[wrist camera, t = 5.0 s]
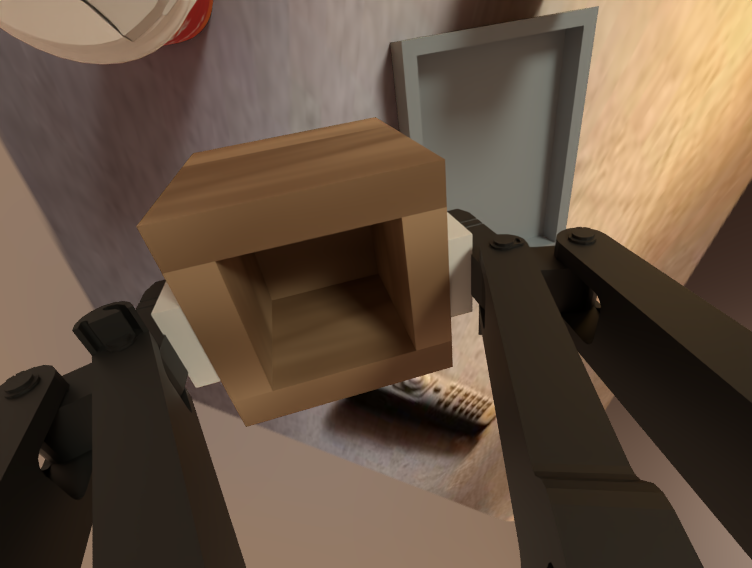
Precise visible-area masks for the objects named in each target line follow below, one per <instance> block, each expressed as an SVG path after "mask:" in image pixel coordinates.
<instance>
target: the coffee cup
mask: <svg viewBox="0 0 752 568" xmlns="http://www.w3.org/2000/svg"><path fill="white" fill-rule="evenodd" d="M212 6H213V0H0V28H1V29H3V30H4V31H6V32H7V33H9V34H10V35H12V36H14V37H15V38H17V39H19V40H21V41H23V42H25V43H27V44H29V45H31V46H33V47H35V48H37V49H39V50H42V51H44V52H47V53H50V54H52V55H55V56H57V57H61V58H65V59H69V60H73V61H77V62H82V63H92V64H117V63H124V62H128V61H132V60H136V59H140V58H142V57H144V56H146V55H148V54H150V53H153V52H155V51H156V50H157V49H159V48H160V47H161V46H164V45H170V44H175V43H180V42H183V41H186V40H189V39H191V38H193V37H194V36H196V35H197V34H198V33H200V32H201V31H202V30H203V28H204V27H205V25H206V24H207V22H208V20H209V18H210V15H211V11H212Z"/></svg>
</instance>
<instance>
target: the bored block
mask: <svg viewBox="0 0 752 568" xmlns="http://www.w3.org/2000/svg"><path fill="white" fill-rule="evenodd" d="M136 227H137V229H138V230H139V232H140V234H141V236H142V238H143V240H144V241H145V243H146V245H147V247H148V249H149V251H150V252H151V254H152V256H153V258H154V260H155V261H156V263H157V265H158V267H159V269H160V271H161V272H162V274H163V276H164V278H165V280H166V282H167V283H168V285H169V287H170V289H171V291H172V293H173V294H174V296H175V298H176V300H177V302H178V304H179V305H180V307H181V309H182V311H183V313H184V314H185V316H186V318H187V320H188V322H189V324H190V325H191V327H192V329H193V331H194V333H195V335H196V336H197V338H198V340H199V342H200V344H201V346H202V347H203V349H204V351H205V353H206V355H207V356H208V358H209V360H210V362H211V364H212V366H213V367H214V369H215V371H216V373H217V375H218V377H219V378H220V380H221V382H222V384H223V386H224V388H225V389H226V391H227V393H228V395H229V397H230V398H231V400H232V402H233V404H234V406H235V408H236V409H237V411H238V413H239V415H240V417H241V419H242V420H243V422H244V424H245V426H246V427H247V426H251V425H254V424H258V423H261V422H264V421H268V420H271V419H275V418H278V417H282V416H285V415H288V414H292V413H295V412H299V411H302V410H306V409H309V408H313V407H316V406H319V405H323V404H326V403H330V402H333V401H337V400H340V399H343V398H347V397H350V396H354V395H357V394H361V393H364V392H367V391H371V390H374V389H378V388H381V387H385V386H388V385H391V384H395V383H398V382H402V381H405V380H409V379H412V378H416V377H419V376H422V375H426V374H429V373H433V372H436V371H440V370H443V369H446V368H450V367H453V363H452V335H451V308H450V280H449V252H448V224H447V197H446V169H445V159H444V158H442V157H440V156H439V155H437V154H435V153H434V152H432V151H430V150H429V149H427V148H425V147H424V146H422V145H420V144H419V143H417V142H416V141H414V140H412V139H411V138H409V137H407V136H406V135H404V134H402V133H401V132H399V131H397V130H396V129H394V128H392V127H391V126H389V125H387V124H386V123H384V122H382V121H381V120H379V119H377V118H376V117H375V118H369V119H364V120H359V121H354V122H349V123H344V124H339V125H334V126H329V127H324V128H319V129H314V130H309V131H304V132H299V133H294V134H289V135H283V136H278V137H273V138H268V139H263V140H258V141H253V142H248V143H243V144H238V145H233V146H228V147H223V148H218V149H213V150H208V151H203V152H197V153H193V154H192V155H191V157H190V158H189V159H188V160H187V162H186V163H185V164H184V166H183V167H182V168H181V170H180V171H179V172H178V173H177V175H176V176H175V177H174V179H173V180H172V181H171V182H170V184H169V185H168V186H167V188H166V189H165V190H164V191H163V193H162V194H161V195H160V197H159V198H158V199H157V201H156V202H155V203H154V204H153V206H152V207H151V208H150V210H149V211H148V212H147V213H146V215H145V216H144V217H143V219H142V220H141V221H140V222H139V224H138V225H137V226H136Z"/></svg>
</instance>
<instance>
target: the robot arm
mask: <svg viewBox="0 0 752 568" xmlns="http://www.w3.org/2000/svg"><path fill="white" fill-rule="evenodd" d="M447 224H448V252H449V280H450V308H451V317H454V316H457V315H461V314H465V313H468V312H472V296H473V297H474V299H475V300H476V301H477V302H478V303H479V335H482V337H483V342H484V348H485V354H486V360H487V365H488V371H489V377H490V383H491V388H492V394H493V400H494V405H495V411H496V417H497V423H498V428H499V434H500V440H501V446H502V451H503V457H504V463H505V468H506V474H507V480H508V486H509V491H510V497H511V503H512V509H513V514H514V520H515V526H516V531H517V537H518V543H519V550H520V558H521V568H704V567H703V565H702V563H701V561H700V559H699V558H698V555H697V553H696V552H695V550H694V548H693V546H692V544H691V542H690V540H689V538H688V536H687V534H686V532H685V530H684V528H683V526H682V524H681V522H680V520H679V518H678V516H677V514H676V512H675V510H674V509H673V507H672V506H671V504H670V502H669V501H668V499H667V498H666V496H665V494H664V493H663V492H662V491H661V490H660V489H659V488H658V487H657V486H656V485H655V484H654V483H651V482H647V481H643V480H640V479H639V478H638V477H637V476H636V475H635V474H634V472H633V470H632V468H631V466H630V464H629V462H628V460H627V458H626V455H625V453H624V451H623V449H622V447H621V445H620V442H619V440H618V438H617V436H616V434H615V432H614V429H613V427H612V425H611V423H610V421H609V418H608V416H607V414H606V412H605V410H604V408H603V405H602V403H601V401H600V399H599V397H598V395H597V392H596V390H595V388H594V386H593V384H592V382H591V379H590V377H589V375H588V373H587V371H586V368H585V366H584V364H583V362H582V360H581V358H580V355H581V356H582V357H583V358H584V359H585V361H586V362H587V363H588V364H589V365H590V367H591V368H592V369H593V370H594V371H595V373H596V374H597V375H598V376H599V377H600V379H601V380H602V381H603V382H604V383H605V385H606V386H607V387H608V388H609V389H610V391H611V392H612V393H613V394H614V395H615V397H616V398H617V399H618V400H619V401H620V403H621V404H622V405H623V406H624V407H625V408H626V410H627V411H628V412H629V413H630V415H631V416H632V417H633V418H634V419H635V420H636V422H637V423H638V424H639V425H640V426H641V427H642V429H643V430H644V431H645V432H646V434H647V435H648V436H649V437H650V438H651V439H652V441H653V442H654V443H655V444H656V446H657V447H658V448H659V449H660V450H661V452H662V453H663V454H664V455H665V456H666V458H667V459H668V460H669V461H670V462H671V464H672V465H673V466H674V467H675V468H676V470H677V471H678V472H679V473H680V474H681V476H682V477H683V478H684V479H685V480H686V482H687V483H688V484H689V485H690V486H691V488H692V489H693V490H694V491H695V492H696V494H697V495H698V496H699V497H700V498H701V500H702V501H703V502H704V503H705V504H706V505H707V507H708V508H709V509H710V510H711V512H712V513H713V514H714V515H715V516H716V518H718V520H719V521H720V522H721V523H722V525H723V526H724V527H725V528H726V529H727V531H728V532H729V533H730V534H731V535H732V537H733V538H734V539H735V540H736V541H737V543H738V544H739V545H740V546H741V547H742V549H743V550H744V551H745V552H746V553H747V555H748V556H749V557H750V558H751V559H752V332H751V331H750V330H748V329H747V328H745V327H744V326H742V325H741V324H739V323H738V322H736V321H735V320H733V319H732V318H730V317H729V316H727V315H726V314H724V313H723V312H721V311H720V310H718V309H717V308H715V307H714V306H712V305H711V304H709V303H708V302H706V301H705V300H703V299H702V298H700V297H699V296H697V295H696V294H694V293H693V292H691V291H690V290H688V289H687V288H685V287H684V286H682V285H681V284H679V283H678V282H676V281H675V280H673V279H672V278H670V277H669V276H667V275H666V274H664V273H663V272H661V271H660V270H658V269H657V268H655V267H654V266H652V265H651V264H649V263H648V262H646V261H645V260H643V259H642V258H640V257H639V256H637V255H636V254H634V253H633V252H631V251H630V250H628V249H627V248H625V247H624V246H622V245H621V244H619V243H618V242H616V241H615V240H613V239H612V238H610V237H609V236H607V235H606V234H604V233H602V232H600V231H598V230H594V229H590V228H586V227H583V228H582V227H576V228H569V229H566V230H562V231H561V232H559V233H558V234H557V237H556V243H555V246H541V247H529V245H528V243H527V242H526V241H525V239H523V238H521V237H519V236H516V235H510V234H496V233H495V232H493V231H492V230H491V229H490V228H488V227H487V226H486V225H485V224H482V222H481V221H480V220H478V219H476V217H474V216H473V215H472V214H471V213H469V212H467V211H464V210H461V209H454V210H450V211H447ZM597 296H598V298H599V300H600V303H599V302H598V301H596V298H597ZM72 331H73V332H74V334H75V335H76V336H77V337H78V339H79V340H80V341H81V342H82V344H83V345H84V346H85V347H86V349H87V350H88V351H89V352H90V354H91V355H92V363H90V364H88V365H86V366H83V367H81V368H79V369H77V370H74V371H72V372H70V373H68V374H65V375H63V376H61V375H60V374H59V373H58V372H57V370H56V369H55V368H54V367H53V366H49V365H42V366H38V367H33V368H31V369H28V370H26V371H22V372H20V373H18V374H16V376H12V377H11V378H9V379H7V380H6V382H5V383H4V384H2V385H1V386H0V568H81V564H82V561H83V557H84V553H85V549H86V546H87V542H88V538H89V534H90V531H91V527H92V523H93V568H246V566H245V563H244V559H243V556H242V553H241V550H240V547H239V544H238V541H237V538H236V534H235V531H234V528H233V525H232V522H231V519H230V516H229V513H228V510H227V506H226V503H225V501H224V497H223V494H222V491H221V488H220V485H219V482H218V478H217V475H216V472H215V469H214V466H213V463H212V460H211V457H210V454H209V451H208V448H207V444H206V441H205V438H204V435H203V432H202V429H201V426H200V423H199V419H198V417H197V413H196V410H195V407H194V404H193V401H192V398H191V396H190V394H189V393H188V391H187V390H186V388H185V383H186V379H187V376H189V377H190V379H191V381H192V382H193V384H194V385H195V387H196V388H198V387H202V386H205V385H209V384H212V383H216V382H220V381H221V380H220V378H219V377H218V375H217V373H216V371H215V369H214V367H213V366H212V364H211V362H210V360H209V358H208V356H207V355H206V353H205V351H204V349H203V347H202V346H201V344H200V342H199V340H198V338H197V336H196V335H195V333H194V331H193V329H192V327H191V325H190V324H189V322H188V320H187V318H186V316H185V314H184V313H183V311H182V309H181V307H180V305H179V304H178V302H177V300H176V298H175V296H174V294H173V293H172V291H171V289H170V287H169V285H168V283H167V282H166V280H162V281H158V282H155V283H154V284H153V285H152V286H151V287H150V288H149V289H147V290H146V291H145V293H144V295H143V296H142V298H141V300H140V303H139V304H138V306H137V308H136V310H135V308H134V306H133V305H132V304H131V303H130V302H125V301H121V302H114V303H110V304H107V305H104V306H102V307H99V308H97V309H95V310H93V311H91V312H90V313H88V314H87V315H85V316H84V317H82V318H81V319H80V320H79V321H78V322H77V323H76V324H75V325H74V327H73V330H72ZM578 352H579V353H580V355H579V353H578ZM39 454H40V455H42V456H43V457H44V458H45V461H44V464H43V466H42V468H41V469H40V467H39V462H38V456H39Z"/></svg>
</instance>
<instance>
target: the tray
mask: <svg viewBox="0 0 752 568" xmlns="http://www.w3.org/2000/svg"><path fill="white" fill-rule="evenodd" d="M598 8H599V6H598V7H591V8H585V9H579V10H573V11H567V12H562V13H556V14H550V15H545V16H539V17H533V18H528V19H522V20H516V21H511V22H505V23H499V24H493V25H488V26H482V27H476V28H471V29H465V30H459V31H454V32H448V33H442V34H437V35H431V36H425V37H420V38H414V39H408V40H403V41H397V42H391V43H390V47H391V56H392V66H393V75H394V85H395V94H396V104H397V113H398V123H399V132H401V133H402V134H404V135H406V136H407V137H409V138H411V139H412V140H414V141H416V142H417V143H419V144H420V145H422V146H424V147H425V148H427V149H429V150H430V151H432V152H434V153H435V154H437V155H439V156H440V157H442V158H444V159H445V169H446V197H447V211H450V210H454V209H461V210H464V211H467V212H469V213H471V214H472V215H473V216H474V217H476V219H478V220H480V221H481V222H482V224H485V225H486V226H487V227H488V228H490V229H491V230H492V231H493V232H495V233H496V234H510V235H516V236H519V237H521V238H523V239H525V241H526V242H527V243H528V245H529V247H541V246H555V243H556V237H557V234H558V233H559V232H561V231H562V230H566V225H567V218H568V211H569V205H570V198H571V191H572V184H573V177H574V171H575V164H576V157H577V150H578V144H579V137H580V130H581V123H582V116H583V110H584V103H585V96H586V89H587V83H588V76H589V69H590V62H591V56H592V49H593V42H594V35H595V28H596V22H597V15H598Z"/></svg>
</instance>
